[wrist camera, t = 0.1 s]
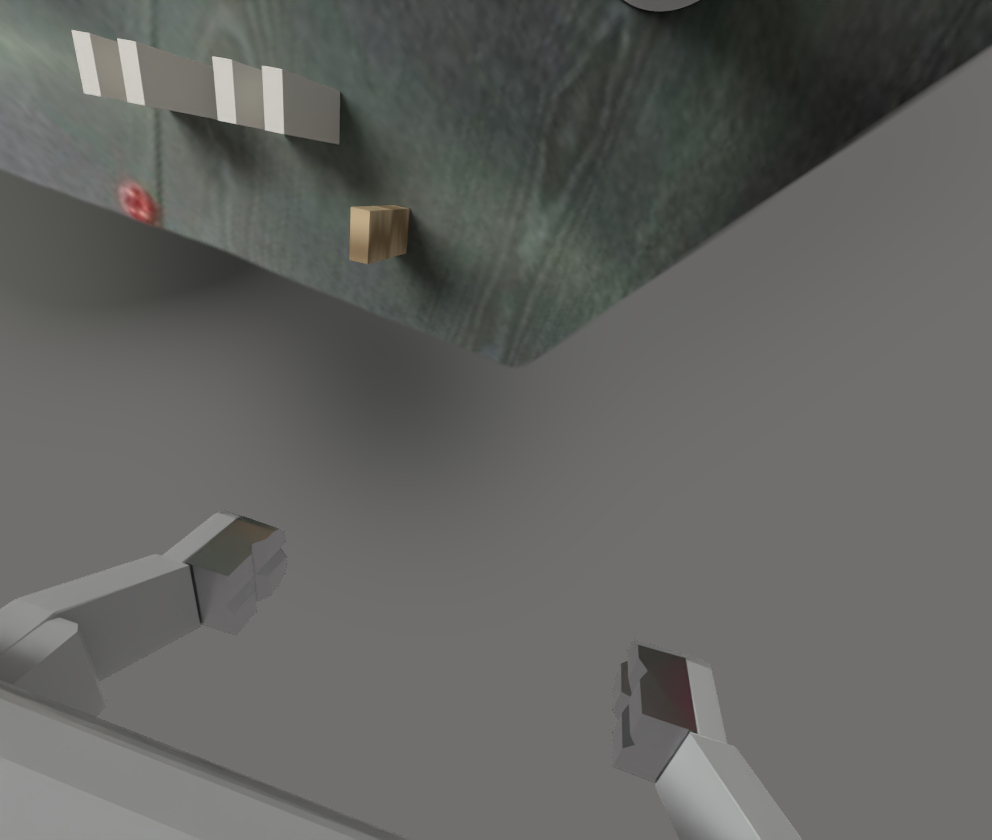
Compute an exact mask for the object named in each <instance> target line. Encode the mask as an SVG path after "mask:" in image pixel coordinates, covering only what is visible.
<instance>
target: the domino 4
mask: <svg viewBox="0 0 992 840" xmlns="http://www.w3.org/2000/svg"><path fill="white" fill-rule="evenodd" d="M262 79H263V100H264V120H265V130H266V131H271V132H276V133H281V134H286V135H291V136H296V137H302V138H307V139H312V140H318V141H323V142H328V143H334V144H339V135H340V91H337V90H335V89H332V88H330V87H327V86H324V85H322V84H319V83H317V82H314V81H311V80H309V79H306V78H304V77H301V76H298V75H296V74H293V73H291V72H288V71H285V70H283V69H278V68H273V67H267V66H262Z"/></svg>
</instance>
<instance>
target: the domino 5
mask: <svg viewBox="0 0 992 840" xmlns="http://www.w3.org/2000/svg"><path fill="white" fill-rule="evenodd" d="M409 214H410V209H409V208H404V207H400V206H395V205H386V206H359V207H351V223H350V258H349V260H353V261H357V262H361V263H365V264H369V263H373V262H377V261H380V260H384V259H388V258H391V257H395V256H399V255H402V254H406V250H407V238H408V226H409Z"/></svg>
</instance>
